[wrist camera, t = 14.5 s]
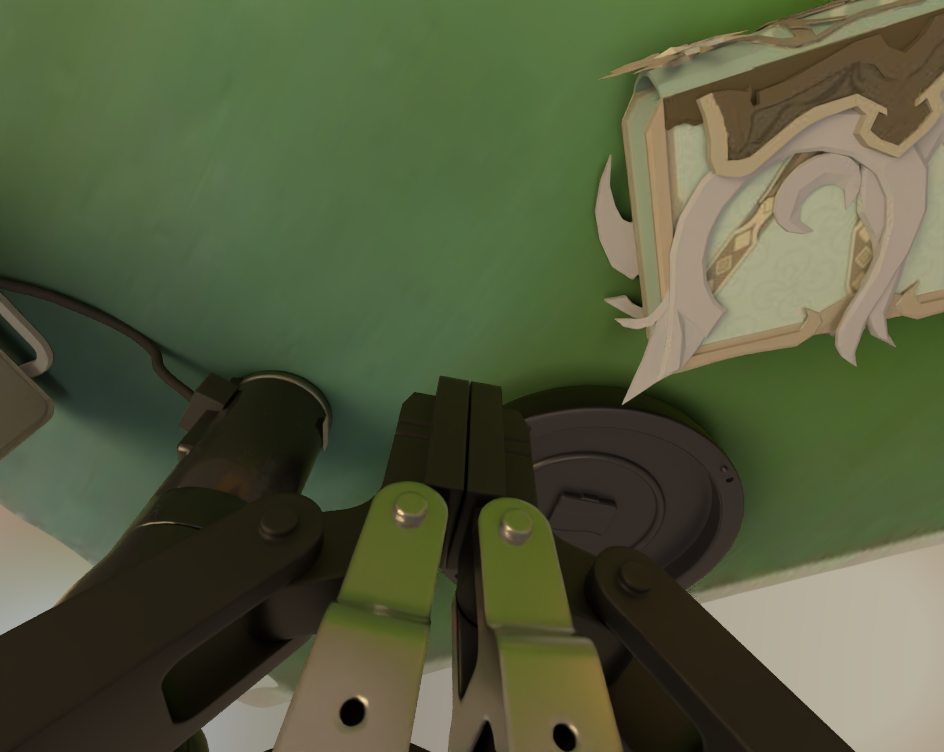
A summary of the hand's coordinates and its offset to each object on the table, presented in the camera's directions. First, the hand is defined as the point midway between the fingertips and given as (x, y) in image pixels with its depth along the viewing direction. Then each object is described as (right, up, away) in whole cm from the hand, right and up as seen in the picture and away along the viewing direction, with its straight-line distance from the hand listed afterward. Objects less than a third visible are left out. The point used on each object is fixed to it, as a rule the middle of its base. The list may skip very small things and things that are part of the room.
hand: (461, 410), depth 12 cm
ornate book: (+23, +15, +22) cm, 35 cm away
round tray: (+11, -11, +39) cm, 42 cm away
